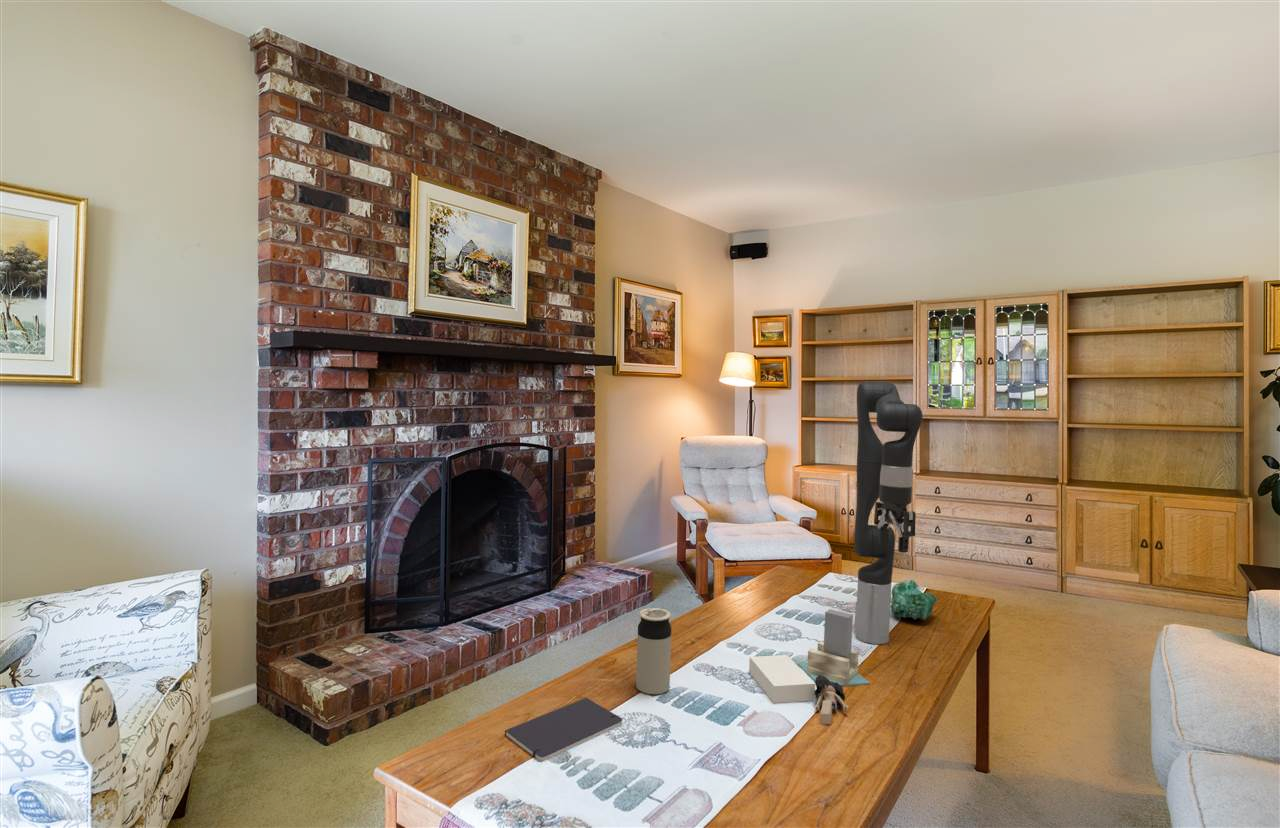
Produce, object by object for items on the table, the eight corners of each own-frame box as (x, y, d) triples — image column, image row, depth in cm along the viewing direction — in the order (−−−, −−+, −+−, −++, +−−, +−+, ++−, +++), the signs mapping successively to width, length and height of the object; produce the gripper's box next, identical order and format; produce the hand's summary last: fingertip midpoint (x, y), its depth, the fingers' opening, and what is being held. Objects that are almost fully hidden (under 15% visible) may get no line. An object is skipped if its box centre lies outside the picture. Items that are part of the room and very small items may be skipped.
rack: (806, 672, 163) (807, 651, 163) (820, 661, 170) (821, 640, 170) (845, 684, 157) (846, 662, 157) (858, 672, 164) (859, 651, 164)
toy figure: (851, 729, 138) (843, 693, 153) (849, 701, 138) (841, 668, 152) (817, 729, 140) (812, 693, 154) (814, 701, 139) (810, 668, 154)
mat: (797, 664, 169) (797, 662, 169) (843, 661, 172) (843, 660, 171) (820, 687, 156) (820, 685, 156) (869, 684, 159) (869, 682, 159)
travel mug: (676, 687, 154) (678, 613, 153) (654, 699, 148) (656, 622, 147) (651, 676, 159) (653, 605, 158) (629, 687, 153) (631, 612, 153)
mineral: (873, 606, 217) (875, 577, 216) (917, 606, 218) (919, 577, 218) (901, 627, 198) (903, 595, 198) (949, 626, 200) (951, 594, 200)
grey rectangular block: (822, 666, 164) (825, 612, 163) (827, 662, 166) (829, 609, 166) (846, 673, 160) (848, 617, 160) (850, 669, 163) (852, 614, 162)
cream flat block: (749, 672, 163) (749, 656, 163) (786, 670, 165) (786, 654, 165) (773, 703, 148) (774, 686, 148) (814, 700, 150) (814, 683, 149)
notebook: (586, 704, 146) (504, 737, 131) (586, 697, 146) (504, 730, 131) (623, 726, 137) (540, 765, 122) (624, 719, 137) (541, 757, 122)
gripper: (927, 488, 154) (923, 555, 155) (893, 479, 168) (890, 540, 169) (898, 488, 153) (895, 555, 154) (866, 479, 167) (864, 541, 168)
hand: (892, 547), depth 161 cm, fingers open, 8 cm apart
